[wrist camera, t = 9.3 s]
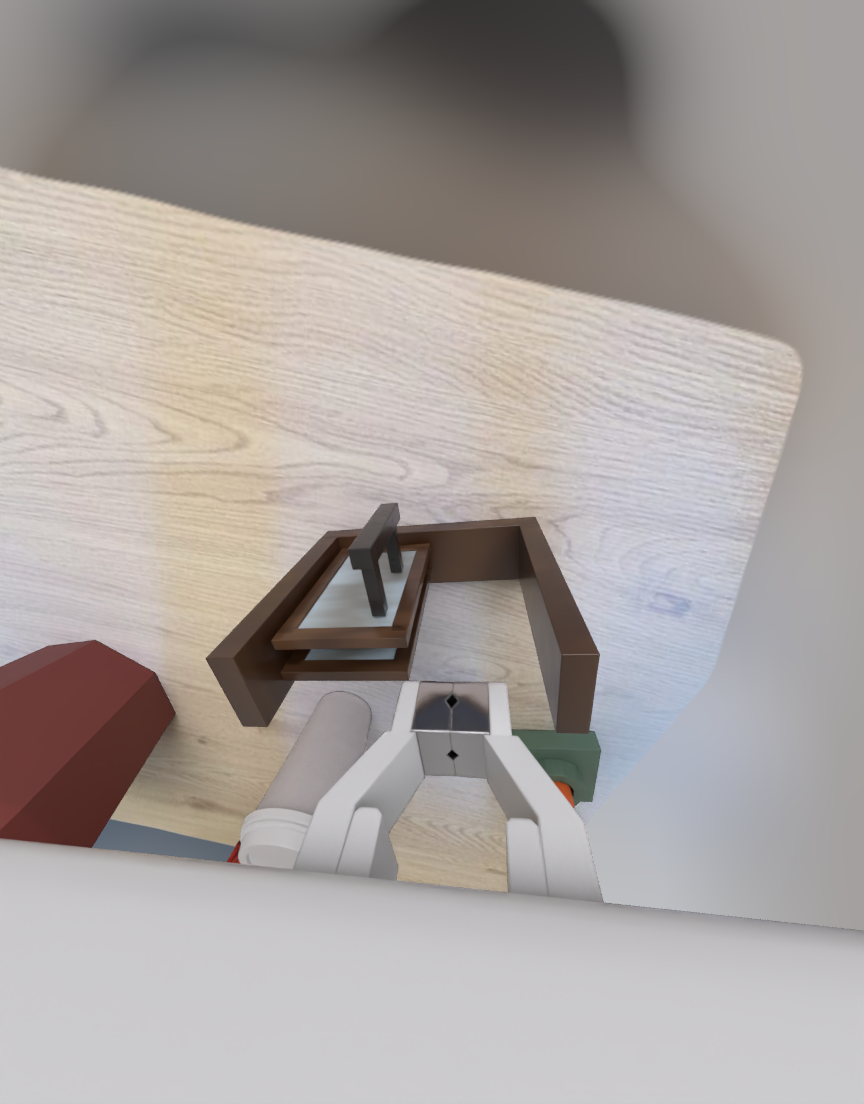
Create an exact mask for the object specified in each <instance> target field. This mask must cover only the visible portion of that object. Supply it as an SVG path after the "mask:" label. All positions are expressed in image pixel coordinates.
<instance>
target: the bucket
mask: <svg viewBox="0 0 864 1104" xmlns="http://www.w3.org/2000/svg"><path fill="white" fill-rule="evenodd" d="M174 715H175V711H174V709H173V707H172V705H171V703H170V701H169V699H168V697H167V695H166V693H165V692H164V690H163V688H162V686H161V684H160V682H159V680H158V678H157V676H156V674H155V672H153V671H151V670H149V669H147V668H145V667H144V666H142V665H140V664H138V663H136V662H134V661H133V660H131V659H129V658H127V657H125V656H123V655H122V654H120V653H118V652H116V651H114V650H113V649H111V648H109V647H107V646H105V645H103V644H102V643H100V642H98V641H96V640H92V641H84V642H76V643H68V644H60V645H52V646H47V647H45V648H42V649H40V650H38V651H35V652H33V653H31V654H29V655H26V656H24V657H22V658H20V659H17V660H15V661H13V662H11V663H8V664H6V665H4V666H1V667H0V838H2V839H12V840H21V841H31V842H40V843H50V844H59V845H69V846H78V847H88V848H92V846H93V845H94V843H95V842H96V840H97V839H98V837H99V835H100V834H101V832H102V831H103V829H104V827H105V826H106V824H107V822H108V821H109V819H110V818H111V816H112V814H113V813H114V811H115V810H116V808H117V806H118V805H119V803H120V802H121V800H122V798H123V797H124V795H125V794H126V792H127V790H128V789H129V787H130V786H131V784H132V782H133V781H134V779H135V778H136V776H137V774H138V773H139V771H140V769H141V768H142V766H143V765H144V763H145V761H146V760H147V758H148V757H149V755H150V753H151V752H152V750H153V749H154V747H155V745H156V744H157V742H158V741H159V739H160V737H161V736H162V734H163V733H164V731H165V729H166V728H167V726H168V725H169V723H170V721H171V720H172V718H173V716H174Z"/></svg>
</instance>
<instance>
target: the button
mask: <svg viewBox="0 0 864 1104" xmlns="http://www.w3.org/2000/svg"><path fill="white" fill-rule="evenodd" d="M554 783H555V785H556V786H557V787H558V789H559V790H560V791H561V793H562V794H563V795H564V796H565V798H566V799H567V800H568V802H569V803H570V804H571V805H572V807H573V808H574V806H575V805H574V801H573V797H572V793H571V789H570V787H569V785H567V784H565V783H562V782H554Z"/></svg>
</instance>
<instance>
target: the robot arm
mask: <svg viewBox="0 0 864 1104" xmlns="http://www.w3.org/2000/svg"><path fill="white" fill-rule="evenodd" d="M488 694H489V695H488ZM424 775H432V776H460V777H471V778H483V779H487V782H488V784H489V785H490V787H491V789H492V791H493V793H494V795H495V797H496V799H497V800H498V802H499V804H500V806H501V808H502V810H503V812H504V813H505V815H506V817H507V819H508V822H507V823H506V854H507V887H508V892H500V891H491V890H481V889H472V888H463V887H453V886H444V885H435V884H425V883H416V882H407V881H397V880H396V879H397V873H398V864H397V860H396V857H395V854H394V851H393V848H392V845H391V841H390V838H389V835H388V833H389V832H390V830H391V829H392V827H393V826H394V824H395V823H396V821H397V820H398V818H399V816H400V815H401V813H402V812H403V810H404V809H405V807H406V806H407V804H408V803H409V801H410V800H411V798H412V797H413V795H414V793H415V792H416V790H417V789H418V787H419V786H420V784H421V783H422V781H423V780H424V778H425V776H424ZM0 1104H864V930H854V929H845V928H835V927H827V926H817V925H807V924H798V923H789V922H780V921H770V920H761V919H752V918H742V917H733V916H724V915H714V914H705V913H695V912H686V911H677V910H667V909H658V908H649V907H640V906H631V905H621V904H612V903H604V902H603V898H602V894H601V890H600V886H599V881H598V877H597V873H596V869H595V865H594V861H593V857H592V853H591V849H590V845H589V841H588V837H587V832H586V828H585V824H584V821H583V820H582V818H581V817H580V816H579V815H578V813H577V812H576V811H575V809H574V808H573V807H572V805H571V804H570V803H569V802H568V800H567V799H566V798H565V796H564V795H563V794H562V793H561V791H560V790H559V789H558V787H557V786H556V785H555V783H554V782H553V781H552V780H551V778H550V777H549V776H548V774H547V773H546V772H545V771H544V769H543V768H542V767H541V765H540V764H539V763H538V761H537V760H536V759H535V758H534V756H533V755H532V754H531V752H530V751H529V750H528V749H527V747H526V746H525V745H524V743H523V742H522V741H521V739H520V738H519V737H518V736H512V730H511V720H510V710H509V701H508V691H507V684H506V682H436V681H404V682H403V684H402V686H401V690H400V694H399V698H398V702H397V706H396V710H395V714H394V718H393V723H392V727H391V731H385V732H384V733H383V734H382V735H381V736H380V737H379V738H378V739H377V740H376V741H375V742H374V743H373V744H372V745H371V747H370V748H369V749H368V750H367V751H366V752H365V753H364V754H363V755H362V756H361V757H360V758H359V759H358V760H357V761H356V762H355V763H354V764H353V765H352V766H351V767H350V768H349V770H348V771H347V772H346V773H345V774H344V775H343V776H342V777H341V778H340V779H339V780H338V781H337V782H336V783H335V784H334V785H333V786H332V787H331V788H330V789H329V790H328V791H327V793H326V794H325V795H324V796H323V797H322V798H321V799H320V800H319V801H318V803H317V806H316V808H315V811H314V813H313V816H312V819H311V821H310V824H309V827H308V829H307V832H306V835H305V837H304V840H303V843H302V845H301V848H300V850H299V853H298V856H297V858H296V861H295V864H294V866H293V869H285V868H275V867H266V866H257V865H247V864H238V863H229V862H219V861H209V860H200V859H190V858H182V857H172V856H163V855H152V854H144V853H135V852H125V851H115V850H106V849H96V848H88V847H78V846H69V845H59V844H50V843H40V842H31V841H21V840H12V839H2V838H0Z"/></svg>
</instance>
